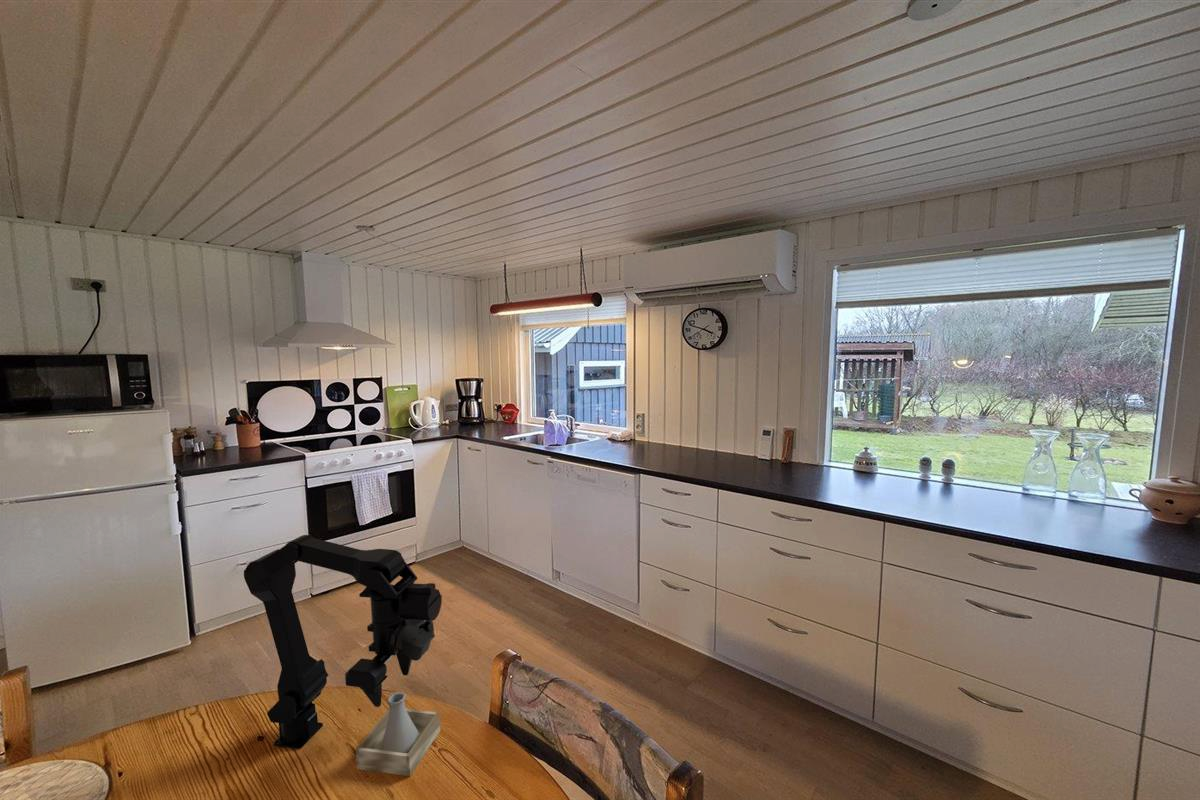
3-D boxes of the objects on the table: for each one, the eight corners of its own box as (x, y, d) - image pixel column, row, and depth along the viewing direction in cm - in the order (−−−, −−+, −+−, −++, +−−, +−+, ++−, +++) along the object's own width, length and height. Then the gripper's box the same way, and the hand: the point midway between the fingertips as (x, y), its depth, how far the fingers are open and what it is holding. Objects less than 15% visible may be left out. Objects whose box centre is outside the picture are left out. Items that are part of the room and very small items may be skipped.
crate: (357, 768, 92) (355, 749, 91) (392, 724, 103) (390, 707, 102) (410, 776, 90) (408, 756, 89) (440, 730, 101) (439, 712, 100)
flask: (404, 761, 92) (401, 713, 91) (372, 756, 93) (368, 708, 93) (426, 732, 99) (423, 687, 98) (395, 727, 100) (392, 683, 100)
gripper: (395, 648, 84) (401, 730, 86) (448, 595, 103) (451, 664, 104) (340, 642, 86) (346, 722, 88) (401, 592, 105) (405, 659, 106)
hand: (392, 689), depth 96 cm, fingers open, 9 cm apart
